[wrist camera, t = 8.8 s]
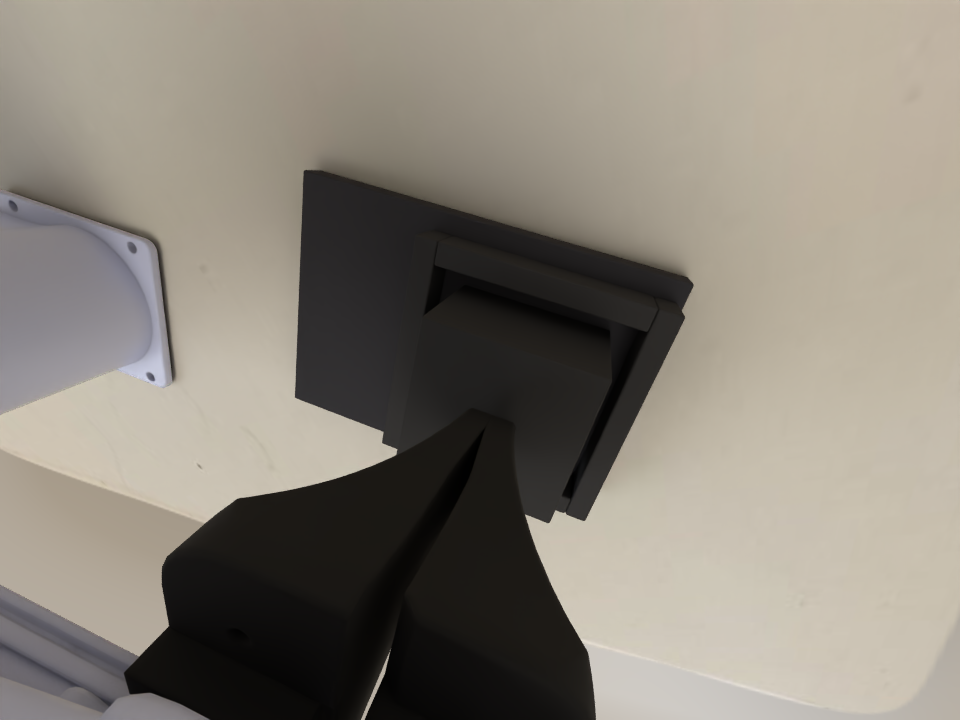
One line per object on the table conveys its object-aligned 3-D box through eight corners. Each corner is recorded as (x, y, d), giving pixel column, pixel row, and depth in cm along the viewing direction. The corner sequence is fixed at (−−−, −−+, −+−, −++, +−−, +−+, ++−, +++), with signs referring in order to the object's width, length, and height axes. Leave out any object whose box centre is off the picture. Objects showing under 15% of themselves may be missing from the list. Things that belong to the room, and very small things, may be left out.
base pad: (307, 388, 20) (271, 414, 18) (319, 170, 16) (273, 168, 14) (586, 493, 18) (583, 536, 16) (689, 277, 14) (705, 296, 12)
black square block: (437, 406, 17) (394, 463, 14) (464, 283, 15) (421, 316, 12) (561, 451, 17) (549, 524, 13) (610, 330, 14) (612, 380, 11)
